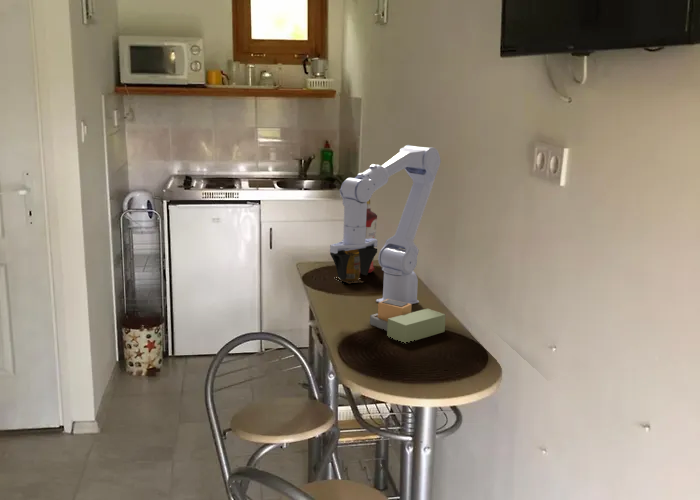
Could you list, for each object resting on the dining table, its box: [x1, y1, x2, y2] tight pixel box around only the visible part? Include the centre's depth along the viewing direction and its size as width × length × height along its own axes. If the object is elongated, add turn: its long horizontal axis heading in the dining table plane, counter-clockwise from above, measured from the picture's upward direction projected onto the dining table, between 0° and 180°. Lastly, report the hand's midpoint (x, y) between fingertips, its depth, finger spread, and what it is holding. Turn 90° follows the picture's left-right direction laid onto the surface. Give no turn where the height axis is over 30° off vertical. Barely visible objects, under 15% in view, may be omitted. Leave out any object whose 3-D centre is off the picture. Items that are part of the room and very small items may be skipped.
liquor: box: [360, 199, 378, 275], centre depth 227 cm, size 7×7×28 cm
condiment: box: [336, 249, 361, 283], centre depth 219 cm, size 7×8×12 cm
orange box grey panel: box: [377, 299, 413, 321], centre depth 178 cm, size 4×7×6 cm, turn 55°
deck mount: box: [369, 307, 447, 344], centre depth 177 cm, size 14×16×4 cm
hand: (353, 276), depth 184 cm, fingers open, 7 cm apart
